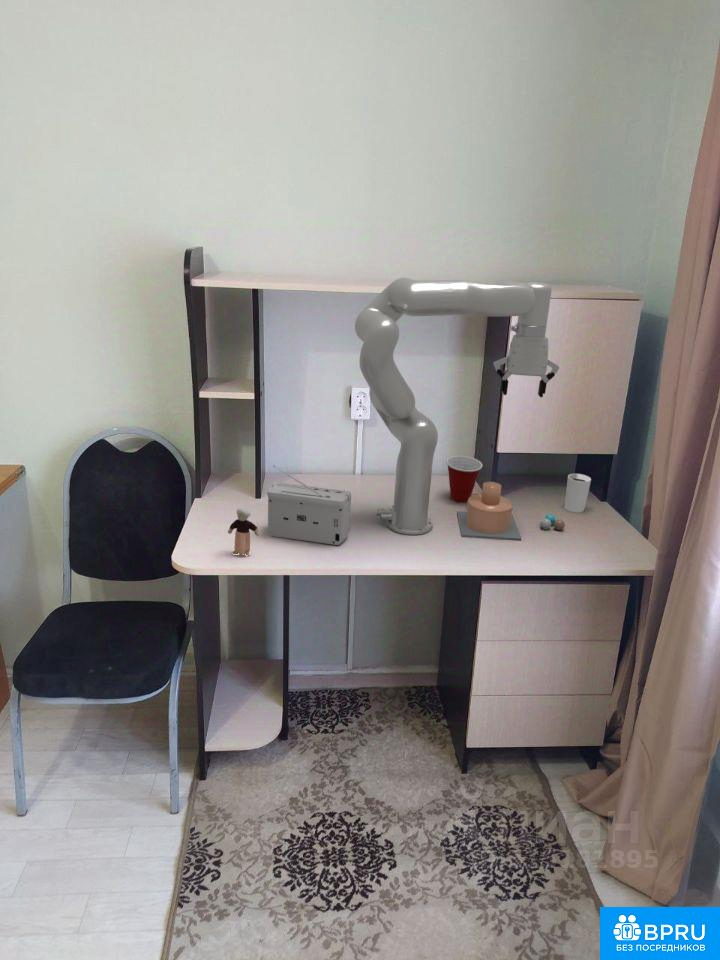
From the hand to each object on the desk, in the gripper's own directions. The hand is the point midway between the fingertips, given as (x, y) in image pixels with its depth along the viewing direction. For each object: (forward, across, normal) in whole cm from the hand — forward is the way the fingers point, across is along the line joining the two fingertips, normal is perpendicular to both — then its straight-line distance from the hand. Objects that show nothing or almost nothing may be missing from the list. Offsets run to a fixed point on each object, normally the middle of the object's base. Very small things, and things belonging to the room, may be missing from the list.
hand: (522, 394), depth 197 cm
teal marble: (+36, +12, -3) cm, 38 cm away
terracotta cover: (+36, -6, -7) cm, 37 cm away
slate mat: (+36, -6, -7) cm, 37 cm away
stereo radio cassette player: (+37, -55, -21) cm, 69 cm away
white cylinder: (+36, +22, +10) cm, 44 cm away
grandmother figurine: (+36, -70, -33) cm, 85 cm away
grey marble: (+36, +10, -6) cm, 38 cm away
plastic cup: (+36, -12, +12) cm, 40 cm away
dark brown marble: (+36, +14, -6) cm, 39 cm away
